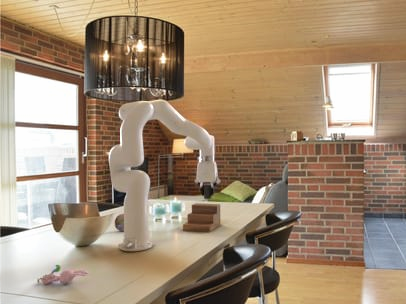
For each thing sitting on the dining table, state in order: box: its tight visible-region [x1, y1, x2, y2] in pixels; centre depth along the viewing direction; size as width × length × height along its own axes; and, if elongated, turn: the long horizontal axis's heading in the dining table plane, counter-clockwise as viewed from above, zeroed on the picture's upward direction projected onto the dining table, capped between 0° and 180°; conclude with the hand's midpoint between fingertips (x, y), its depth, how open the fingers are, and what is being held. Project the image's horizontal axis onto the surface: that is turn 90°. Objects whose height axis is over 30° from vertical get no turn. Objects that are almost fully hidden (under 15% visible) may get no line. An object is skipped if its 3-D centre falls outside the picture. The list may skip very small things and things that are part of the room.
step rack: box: [182, 202, 222, 233], centre depth 177 cm, size 16×14×11 cm
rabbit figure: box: [36, 264, 89, 285], centre depth 104 cm, size 6×6×15 cm
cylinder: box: [203, 183, 213, 200], centre depth 176 cm, size 4×4×7 cm
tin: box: [114, 213, 124, 232], centre depth 175 cm, size 15×3×8 cm, turn 143°
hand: (207, 195), depth 176 cm, fingers closed on cylinder, 4 cm apart
